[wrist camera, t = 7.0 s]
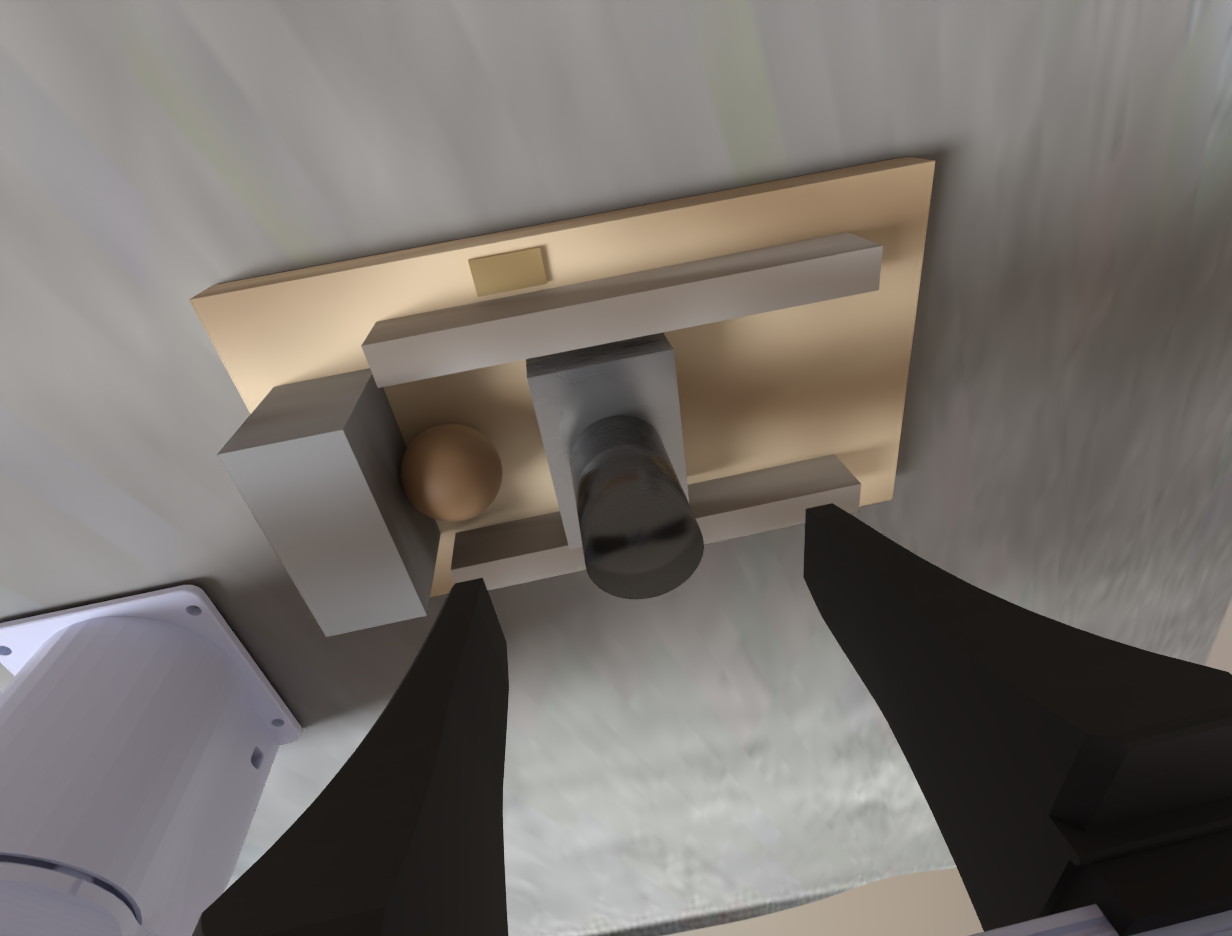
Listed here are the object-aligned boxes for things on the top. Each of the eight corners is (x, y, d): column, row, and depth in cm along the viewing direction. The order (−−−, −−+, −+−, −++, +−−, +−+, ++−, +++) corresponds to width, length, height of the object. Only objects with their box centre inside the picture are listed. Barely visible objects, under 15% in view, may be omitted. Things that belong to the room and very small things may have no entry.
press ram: (674, 483, 21) (733, 625, 16) (564, 506, 21) (582, 658, 15) (655, 321, 18) (721, 424, 12) (525, 346, 18) (531, 463, 12)
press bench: (872, 479, 25) (955, 566, 20) (366, 585, 24) (330, 703, 19) (906, 156, 18) (1040, 175, 14) (212, 285, 17) (103, 353, 13)
